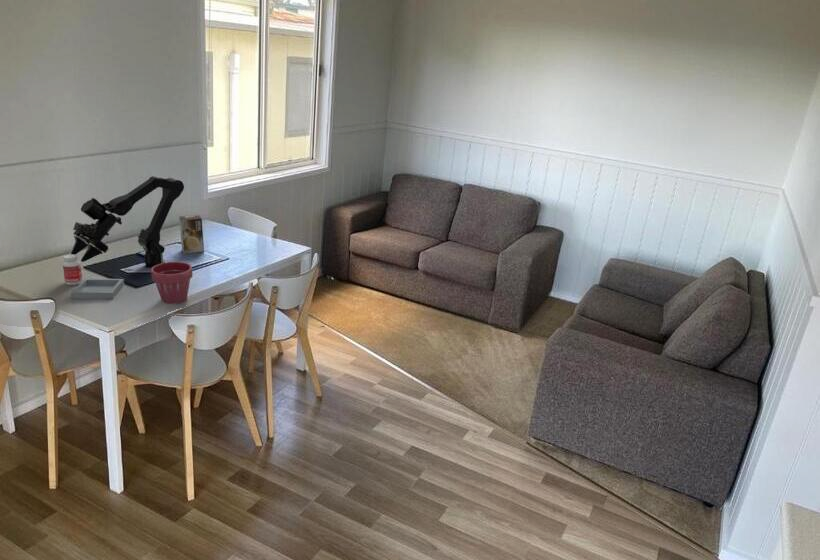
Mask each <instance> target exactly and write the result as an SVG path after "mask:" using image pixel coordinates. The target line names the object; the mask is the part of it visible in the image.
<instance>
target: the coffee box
mask: <svg viewBox="0 0 820 560" xmlns="http://www.w3.org/2000/svg"><path fill="white" fill-rule="evenodd" d="M178 219H179V229H180V230H179V231H180V242H181V251H182V252H183V254H185V255H186V254H195V253H204V252H205V243H204V231H203V230H204V229H203V218H202V217H201V216H200V215H184V216H183V215H181V216H178Z"/></svg>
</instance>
